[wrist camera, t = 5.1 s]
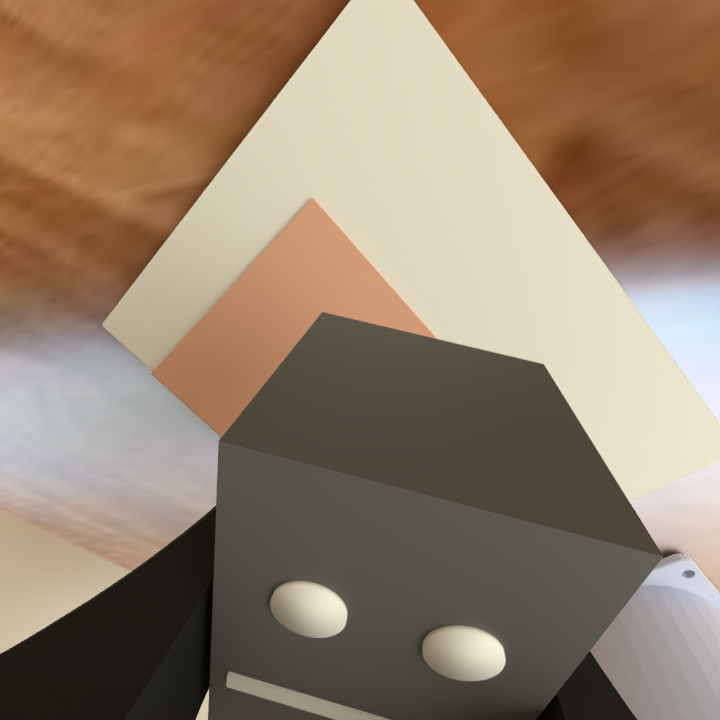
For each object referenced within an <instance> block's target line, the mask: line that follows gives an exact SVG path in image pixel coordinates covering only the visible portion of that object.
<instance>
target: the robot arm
mask: <svg viewBox="0 0 720 720" xmlns="http://www.w3.org/2000/svg"><path fill="white" fill-rule="evenodd" d="M215 529H216V506H215V507H214V508H213V509H212V510H210V511H209V512H208V513H207V514H206V515H204V516H203V517H202V518H201V519H200V520H199V521H197V522H196V523H195V524H194V525H193V526H191V527H190V528H189V529H188V530H186V531H185V532H184V533H183V534H181V535H180V536H179V537H177V538H176V539H175V540H173V541H172V542H171V543H169V544H168V545H167V546H166V547H164V548H163V549H162V550H160V551H159V552H158V553H156V554H155V555H154V556H153V557H151V558H150V559H148V560H147V561H146V562H144V563H143V564H142V565H140V566H139V567H137V568H136V569H135V570H133V571H132V572H130V573H129V574H127V575H126V576H125V577H123V578H122V579H120V580H119V581H117V582H116V583H114V584H113V585H111V586H110V587H108V588H107V589H105V590H104V591H102V592H101V593H99V594H98V595H97V596H95V597H94V598H92V599H90V600H89V601H87V602H86V603H84V604H82V605H81V606H79V607H78V608H76V609H74V610H73V611H71V612H70V613H68V614H66V615H65V616H63V617H62V618H60V619H58V620H57V621H55V622H54V623H52V624H50V625H49V626H47V627H46V628H44V629H42V630H41V631H39V632H37V633H36V634H34V635H32V636H31V637H29V638H27V639H26V640H24V641H22V642H21V643H19V644H17V645H15V646H14V647H12V648H10V649H9V650H7V651H5V652H3V653H1V654H0V720H196V717H197V714H198V712H199V709H200V707H201V705H202V702H203V700H204V698H205V695H206V693H207V691H208V689H209V686H210V660H211V634H212V607H213V581H214V555H215ZM536 720H720V593H719V592H718V590H717V589H716V588H715V587H714V586H713V584H712V583H711V582H710V581H709V580H708V578H707V577H706V576H705V575H704V574H703V572H702V571H701V570H700V569H699V568H698V566H697V565H696V564H695V563H694V562H693V560H692V559H691V558H690V557H689V556H688V555H685V554H678V553H677V554H673V555H670V556H668V557H665V558H662V559H661V560H660V562H659V563H658V564H657V565H656V567H655V568H654V569H653V571H652V572H651V573H650V574H649V576H648V577H647V578H646V580H645V581H644V582H643V583H642V585H641V586H640V587H639V589H638V590H637V591H636V592H635V594H634V595H633V596H632V597H631V599H630V600H629V601H628V603H627V604H626V605H625V606H624V608H623V609H622V610H621V612H620V613H619V614H618V615H617V617H616V618H615V619H614V621H613V622H612V623H611V624H610V626H609V627H608V628H607V629H606V631H605V632H604V633H603V635H602V636H601V637H600V638H599V640H598V641H597V642H596V644H595V645H594V646H593V647H592V649H591V650H590V651H589V653H588V654H587V655H586V656H585V658H584V659H583V660H582V661H581V663H580V664H579V665H578V667H577V668H576V669H575V670H574V672H573V673H572V674H571V676H570V677H569V678H568V679H567V681H566V682H565V683H564V685H563V686H562V687H561V688H560V690H559V691H558V692H557V693H556V695H555V696H554V697H553V699H552V700H551V701H550V702H549V704H548V705H547V706H546V708H545V709H544V710H543V711H542V713H541V714H540V715H539V717H538V718H537V719H536Z"/></svg>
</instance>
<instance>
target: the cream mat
mask: <svg viewBox="0 0 720 720" xmlns="http://www.w3.org/2000/svg"><path fill="white" fill-rule="evenodd" d="M322 312H325V313H329V314H333V315H338V316H342V317H346V318H350V319H355V320H359V321H363V322H367V323H372V324H376V325H380V326H384V327H389V328H393V329H397V330H401V331H406V332H410V333H414V334H418V335H422V336H427V337H431V338H435V339H439V340H444V341H448V342H452V343H456V344H461V345H465V346H469V347H473V348H478V349H482V350H486V351H490V352H495V353H499V354H503V355H507V356H512V357H516V358H520V359H524V360H529V361H533V362H537V363H541V364H544V365H545V367H546V368H547V370H548V372H549V373H550V375H551V377H552V378H553V380H554V381H555V383H556V385H557V386H558V388H559V389H560V391H561V393H562V394H563V396H564V397H565V399H566V401H567V402H568V404H569V406H570V407H571V409H572V410H573V412H574V414H575V415H576V417H577V418H578V420H579V422H580V423H581V425H582V426H583V428H584V430H585V431H586V433H587V435H588V436H589V438H590V439H591V441H592V443H593V444H594V446H595V447H596V449H597V451H598V452H599V454H600V455H601V457H602V459H603V460H604V462H605V464H606V465H607V467H608V468H609V470H610V472H611V473H612V475H613V476H614V478H615V480H616V481H617V483H618V484H619V486H620V488H621V489H622V491H623V493H624V494H625V496H626V497H627V499H628V501H630V500H633V499H635V498H637V497H639V496H642V495H644V494H646V493H649V492H651V491H653V490H655V489H658V488H660V487H662V486H664V485H667V484H669V483H671V482H673V481H676V480H678V479H680V478H682V477H685V476H687V475H689V474H691V473H694V472H696V471H698V470H700V469H703V468H705V467H707V466H709V465H712V464H714V463H716V462H718V461H720V423H719V422H718V420H717V419H716V417H715V416H714V415H713V413H712V412H711V410H710V409H709V408H708V406H707V405H706V404H705V402H704V401H703V399H702V398H701V397H700V395H699V394H698V393H697V391H696V390H695V388H694V387H693V386H692V384H691V383H690V381H689V380H688V379H687V377H686V376H685V375H684V373H683V372H682V370H681V369H680V368H679V366H678V365H677V364H676V362H675V361H674V359H673V358H672V357H671V355H670V354H669V352H668V351H667V350H666V348H665V347H664V346H663V344H662V343H661V341H660V340H659V339H658V337H657V336H656V335H655V333H654V332H653V330H652V329H651V328H650V326H649V325H648V323H647V322H646V321H645V319H644V318H643V317H642V315H641V314H640V312H639V311H638V310H637V308H636V307H635V306H634V304H633V303H632V301H631V300H630V299H629V297H628V296H627V294H626V293H625V292H624V290H623V289H622V288H621V286H620V285H619V283H618V282H617V281H616V279H615V278H614V277H613V275H612V274H611V272H610V271H609V270H608V268H607V267H606V266H605V264H604V263H603V261H602V260H601V259H600V257H599V256H598V254H597V253H596V252H595V250H594V249H593V248H592V246H591V245H590V243H589V242H588V241H587V239H586V238H585V237H584V235H583V234H582V232H581V231H580V230H579V228H578V227H577V225H576V224H575V223H574V221H573V220H572V219H571V217H570V216H569V214H568V213H567V212H566V210H565V209H564V208H563V206H562V205H561V203H560V202H559V201H558V199H557V198H556V196H555V195H554V194H553V192H552V191H551V190H550V188H549V187H548V185H547V184H546V183H545V181H544V180H543V179H542V177H541V176H540V174H539V173H538V172H537V170H536V169H535V167H534V166H533V165H532V163H531V162H530V161H529V159H528V158H527V156H526V155H525V154H524V152H523V151H522V150H521V148H520V147H519V145H518V144H517V143H516V141H515V140H514V139H513V137H512V136H511V134H510V133H509V132H508V130H507V129H506V127H505V126H504V125H503V123H502V122H501V121H500V119H499V118H498V116H497V115H496V114H495V112H494V111H493V110H492V108H491V107H490V105H489V104H488V103H487V101H486V100H485V98H484V97H483V96H482V94H481V93H480V92H479V90H478V89H477V87H476V86H475V85H474V83H473V82H472V81H471V79H470V78H469V76H468V75H467V74H466V72H465V71H464V69H463V68H462V67H461V65H460V64H459V63H458V61H457V60H456V58H455V57H454V56H453V54H452V53H451V52H450V50H449V49H448V47H447V46H446V45H445V43H444V42H443V40H442V39H441V38H440V36H439V35H438V34H437V32H436V31H435V29H434V28H433V27H432V25H431V24H430V23H429V21H428V20H427V18H426V17H425V16H424V14H423V13H422V12H421V10H420V9H419V7H418V6H417V5H416V3H415V2H414V0H351V1H350V2H349V3H348V5H347V6H346V7H345V8H344V10H343V11H342V12H341V14H340V15H339V16H338V18H337V19H336V20H335V21H334V23H333V24H332V25H331V27H330V28H329V29H328V31H327V32H326V33H325V34H324V36H323V37H322V38H321V40H320V41H319V42H318V44H317V45H316V46H315V47H314V49H313V50H312V51H311V53H310V54H309V55H308V57H307V58H306V59H305V61H304V62H303V63H302V64H301V66H300V67H299V68H298V70H297V71H296V72H295V74H294V75H293V76H292V77H291V79H290V80H289V81H288V83H287V84H286V85H285V87H284V88H283V89H282V90H281V92H280V93H279V94H278V96H277V97H276V98H275V100H274V101H273V102H272V103H271V105H270V106H269V107H268V109H267V110H266V111H265V113H264V114H263V115H262V116H261V118H260V119H259V120H258V122H257V123H256V124H255V126H254V127H253V128H252V130H251V131H250V132H249V133H248V135H247V136H246V137H245V139H244V140H243V141H242V143H241V144H240V145H239V146H238V148H237V149H236V150H235V152H234V153H233V154H232V156H231V157H230V158H229V159H228V161H227V162H226V163H225V165H224V166H223V167H222V169H221V170H220V171H219V172H218V174H217V175H216V176H215V178H214V179H213V180H212V182H211V183H210V184H209V185H208V187H207V188H206V189H205V191H204V192H203V193H202V195H201V196H200V197H199V199H198V200H197V201H196V202H195V204H194V205H193V206H192V208H191V209H190V210H189V212H188V213H187V214H186V215H185V217H184V218H183V219H182V221H181V222H180V223H179V225H178V226H177V227H176V228H175V230H174V231H173V232H172V234H171V235H170V236H169V238H168V239H167V240H166V241H165V243H164V244H163V245H162V247H161V248H160V249H159V251H158V252H157V253H156V254H155V256H154V257H153V258H152V260H151V261H150V262H149V264H148V265H147V266H146V268H145V269H144V270H143V271H142V273H141V274H140V275H139V277H138V278H137V279H136V281H135V282H134V283H133V284H132V286H131V287H130V288H129V290H128V291H127V292H126V294H125V295H124V296H123V297H122V299H121V300H120V301H119V303H118V304H117V305H116V307H115V308H114V309H113V310H112V312H111V313H110V314H109V316H108V317H107V318H106V320H105V321H104V322H103V323H102V326H103V327H104V328H105V329H106V330H107V331H108V332H110V333H111V334H112V335H113V336H114V337H115V338H116V339H117V340H118V341H120V342H121V343H122V344H123V345H124V346H125V347H126V348H127V349H128V350H130V351H131V352H132V353H133V354H134V355H135V356H136V357H137V358H138V359H140V360H141V361H142V362H143V363H144V364H145V365H146V366H147V367H148V368H149V369H151V370H152V371H153V372H152V373H151V374H152V375H153V376H155V377H156V378H157V379H158V380H159V381H160V382H161V383H162V384H163V385H164V386H166V387H167V388H168V389H169V390H170V391H171V392H172V393H173V394H174V395H176V396H177V397H178V398H179V399H180V400H181V401H182V402H183V403H184V404H186V405H187V406H188V407H189V408H190V409H191V410H192V411H193V412H194V413H196V414H197V415H198V416H199V417H200V418H201V419H202V420H203V421H204V422H206V423H207V424H208V425H209V426H210V427H211V428H212V429H213V430H214V431H216V432H217V433H218V434H219V435H220V436H221V437H222V436H223V435H224V434H225V432H226V431H227V430H228V429H229V428H230V426H231V425H232V424H233V423H234V421H235V420H236V419H237V418H238V416H239V415H240V414H241V413H242V411H243V410H244V409H245V408H246V406H247V405H248V404H249V403H250V401H251V400H252V399H253V398H254V396H255V395H256V394H257V393H258V391H259V390H260V389H261V388H262V386H263V385H264V384H265V383H266V381H267V380H268V379H269V378H270V376H271V375H272V374H273V373H274V371H275V370H276V369H277V368H278V366H279V365H280V364H281V363H282V361H283V360H284V359H285V358H286V357H287V355H288V354H289V353H290V352H291V350H292V349H293V348H294V347H295V345H296V344H297V343H298V342H299V340H300V339H301V338H302V337H303V335H304V334H305V333H306V332H307V330H308V329H309V328H310V327H311V325H312V324H313V323H314V322H315V320H316V319H317V318H318V317H319V315H320V314H321V313H322Z"/></svg>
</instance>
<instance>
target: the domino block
mask: <svg viewBox="0 0 720 720" xmlns="http://www.w3.org/2000/svg"><path fill="white" fill-rule="evenodd" d="M662 558H663V555H662V554H661V552H660V551H659V549H658V547H657V546H656V544H655V542H654V541H653V539H652V538H651V536H650V534H649V533H648V531H647V530H646V528H645V526H644V525H643V523H642V522H641V520H640V518H639V517H638V515H637V513H636V512H635V510H634V509H633V507H632V505H631V504H630V502H629V501H628V499H627V497H626V496H625V494H624V493H623V491H622V489H621V488H620V486H619V484H618V483H617V481H616V480H615V478H614V476H613V475H612V473H611V472H610V470H609V468H608V467H607V465H606V464H605V462H604V460H603V459H602V457H601V455H600V454H599V452H598V451H597V449H596V447H595V446H594V444H593V443H592V441H591V439H590V438H589V436H588V435H587V433H586V431H585V430H584V428H583V426H582V425H581V423H580V422H579V420H578V418H577V417H576V415H575V414H574V412H573V410H572V409H571V407H570V406H569V404H568V402H567V401H566V399H565V397H564V396H563V394H562V393H561V391H560V389H559V388H558V386H557V385H556V383H555V381H554V380H553V378H552V377H551V375H550V373H549V372H548V370H547V368H546V367H545V365H544V364H541V363H537V362H533V361H529V360H524V359H520V358H516V357H512V356H507V355H503V354H499V353H495V352H490V351H486V350H482V349H478V348H473V347H469V346H465V345H461V344H456V343H452V342H448V341H444V340H439V339H435V338H431V337H427V336H422V335H418V334H414V333H410V332H406V331H401V330H397V329H393V328H389V327H384V326H380V325H376V324H372V323H367V322H363V321H359V320H355V319H350V318H346V317H342V316H338V315H333V314H329V313H325V312H322V313H321V314H320V315H319V317H318V318H317V319H316V320H315V322H314V323H313V324H312V325H311V327H310V328H309V329H308V330H307V332H306V333H305V334H304V335H303V337H302V338H301V339H300V340H299V342H298V343H297V344H296V345H295V347H294V348H293V349H292V350H291V352H290V353H289V354H288V355H287V357H286V358H285V359H284V360H283V361H282V363H281V364H280V365H279V366H278V368H277V369H276V370H275V371H274V373H273V374H272V375H271V376H270V378H269V379H268V380H267V381H266V383H265V384H264V385H263V386H262V388H261V389H260V390H259V391H258V393H257V394H256V395H255V396H254V398H253V399H252V400H251V401H250V403H249V404H248V405H247V406H246V408H245V409H244V410H243V411H242V413H241V414H240V415H239V416H238V418H237V419H236V420H235V421H234V423H233V424H232V425H231V426H230V428H229V429H228V430H227V431H226V432H225V434H224V435H223V436H222V437H221V439H220V440H219V450H218V476H217V502H216V529H215V555H214V581H213V607H212V634H211V660H210V686H209V712H208V720H536V719H537V718H538V717H539V715H540V714H541V713H542V711H543V710H544V709H545V708H546V706H547V705H548V704H549V702H550V701H551V700H552V699H553V697H554V696H555V695H556V693H557V692H558V691H559V690H560V688H561V687H562V686H563V685H564V683H565V682H566V681H567V679H568V678H569V677H570V676H571V674H572V673H573V672H574V670H575V669H576V668H577V667H578V665H579V664H580V663H581V661H582V660H583V659H584V658H585V656H586V655H587V654H588V653H589V651H590V650H591V649H592V647H593V646H594V645H595V644H596V642H597V641H598V640H599V638H600V637H601V636H602V635H603V633H604V632H605V631H606V629H607V628H608V627H609V626H610V624H611V623H612V622H613V621H614V619H615V618H616V617H617V615H618V614H619V613H620V612H621V610H622V609H623V608H624V606H625V605H626V604H627V603H628V601H629V600H630V599H631V597H632V596H633V595H634V594H635V592H636V591H637V590H638V589H639V587H640V586H641V585H642V583H643V582H644V581H645V580H646V578H647V577H648V576H649V574H650V573H651V572H652V571H653V569H654V568H655V567H656V565H657V564H658V563H659V562H660V560H661V559H662Z"/></svg>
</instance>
